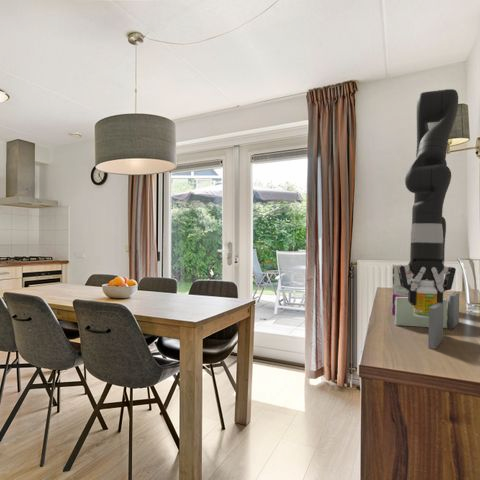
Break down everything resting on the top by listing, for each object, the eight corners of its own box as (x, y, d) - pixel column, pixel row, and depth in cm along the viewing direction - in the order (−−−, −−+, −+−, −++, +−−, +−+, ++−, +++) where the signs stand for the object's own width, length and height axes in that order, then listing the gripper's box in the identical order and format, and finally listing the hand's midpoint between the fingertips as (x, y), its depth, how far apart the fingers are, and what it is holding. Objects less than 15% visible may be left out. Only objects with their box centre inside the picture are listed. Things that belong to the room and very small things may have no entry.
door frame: (453, 321, 106) (454, 291, 106) (459, 322, 105) (460, 292, 105) (427, 347, 79) (428, 307, 79) (435, 349, 78) (436, 308, 78)
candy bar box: (428, 315, 114) (429, 265, 114) (430, 318, 110) (431, 266, 110) (391, 312, 119) (392, 263, 119) (391, 315, 114) (392, 264, 114)
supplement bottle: (425, 319, 89) (426, 281, 89) (408, 315, 94) (409, 278, 94) (441, 318, 91) (442, 280, 91) (424, 314, 96) (425, 278, 96)
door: (444, 326, 98) (445, 299, 98) (446, 327, 97) (447, 299, 97) (394, 323, 100) (395, 296, 100) (396, 324, 99) (396, 297, 99)
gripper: (449, 242, 95) (448, 304, 95) (393, 240, 97) (392, 301, 97) (462, 242, 88) (461, 309, 88) (401, 240, 90) (400, 306, 90)
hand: (425, 305), depth 93 cm, fingers closed on supplement bottle, 5 cm apart
